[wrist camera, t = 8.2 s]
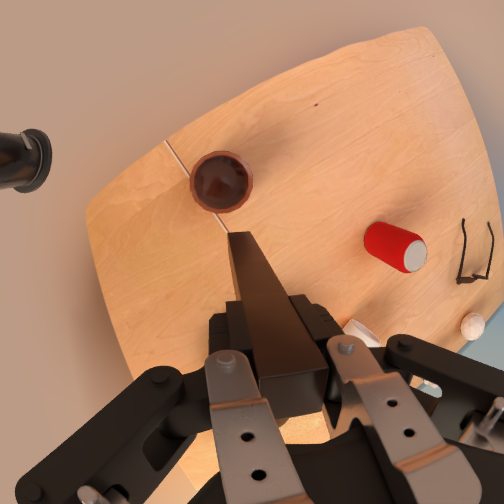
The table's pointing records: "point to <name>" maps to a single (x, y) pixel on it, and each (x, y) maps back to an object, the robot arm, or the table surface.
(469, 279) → the eyeglasses
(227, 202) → the holder
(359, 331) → the mug
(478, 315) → the geometric ball
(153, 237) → the table surface
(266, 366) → the stick
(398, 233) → the beverage can
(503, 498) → the robot arm
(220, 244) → the table surface
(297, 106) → the table surface
